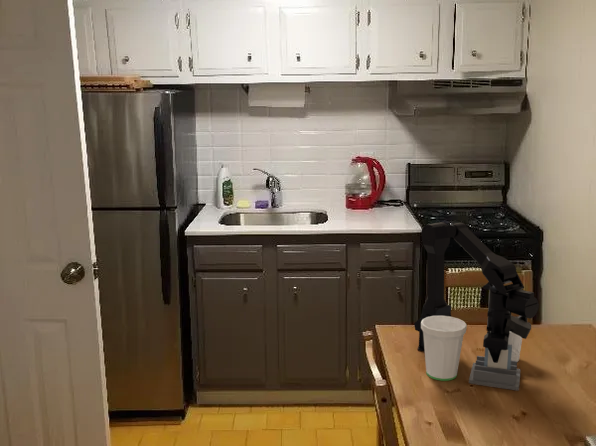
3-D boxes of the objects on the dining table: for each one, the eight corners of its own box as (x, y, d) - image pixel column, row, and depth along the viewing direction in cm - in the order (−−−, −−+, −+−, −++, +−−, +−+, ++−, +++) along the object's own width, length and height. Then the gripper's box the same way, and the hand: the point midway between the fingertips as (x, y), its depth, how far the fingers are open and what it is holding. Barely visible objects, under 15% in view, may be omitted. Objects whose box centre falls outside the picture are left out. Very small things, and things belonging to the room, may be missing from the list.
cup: (427, 361, 191) (429, 312, 187) (469, 370, 184) (472, 320, 181) (412, 377, 180) (414, 326, 177) (456, 388, 174) (459, 334, 171)
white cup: (515, 366, 187) (518, 334, 185) (489, 360, 192) (491, 328, 189) (524, 357, 193) (527, 326, 191) (498, 351, 198) (500, 320, 196)
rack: (468, 383, 177) (469, 371, 176) (473, 365, 188) (473, 354, 187) (518, 390, 172) (519, 378, 171) (520, 372, 183) (521, 360, 182)
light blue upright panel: (483, 373, 180) (485, 343, 178) (484, 371, 181) (485, 341, 180) (509, 377, 178) (511, 347, 176) (510, 375, 179) (512, 344, 177)
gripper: (529, 322, 164) (525, 379, 168) (531, 300, 181) (527, 352, 185) (484, 317, 168) (481, 373, 171) (490, 296, 185) (486, 347, 188)
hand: (495, 361), depth 179 cm, fingers closed on light blue upright panel, 2 cm apart
